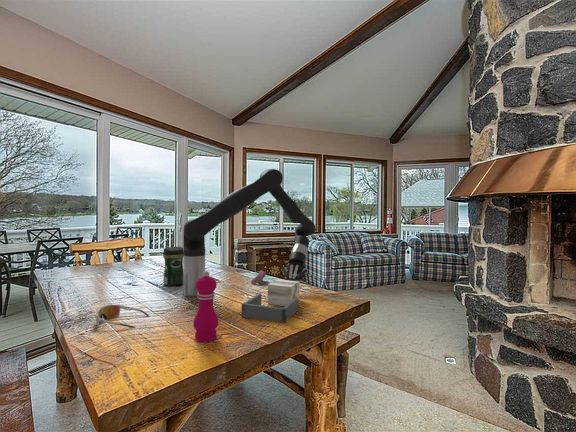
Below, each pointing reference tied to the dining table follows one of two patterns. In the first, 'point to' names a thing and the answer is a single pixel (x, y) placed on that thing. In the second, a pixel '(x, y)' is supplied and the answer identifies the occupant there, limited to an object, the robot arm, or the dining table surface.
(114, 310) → the sunglasses
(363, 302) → the dining table surface
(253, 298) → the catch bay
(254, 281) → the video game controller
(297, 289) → the cream block
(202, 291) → the pepper mill
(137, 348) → the dining table surface
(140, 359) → the dining table surface
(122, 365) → the dining table surface
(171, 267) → the coffee jar
